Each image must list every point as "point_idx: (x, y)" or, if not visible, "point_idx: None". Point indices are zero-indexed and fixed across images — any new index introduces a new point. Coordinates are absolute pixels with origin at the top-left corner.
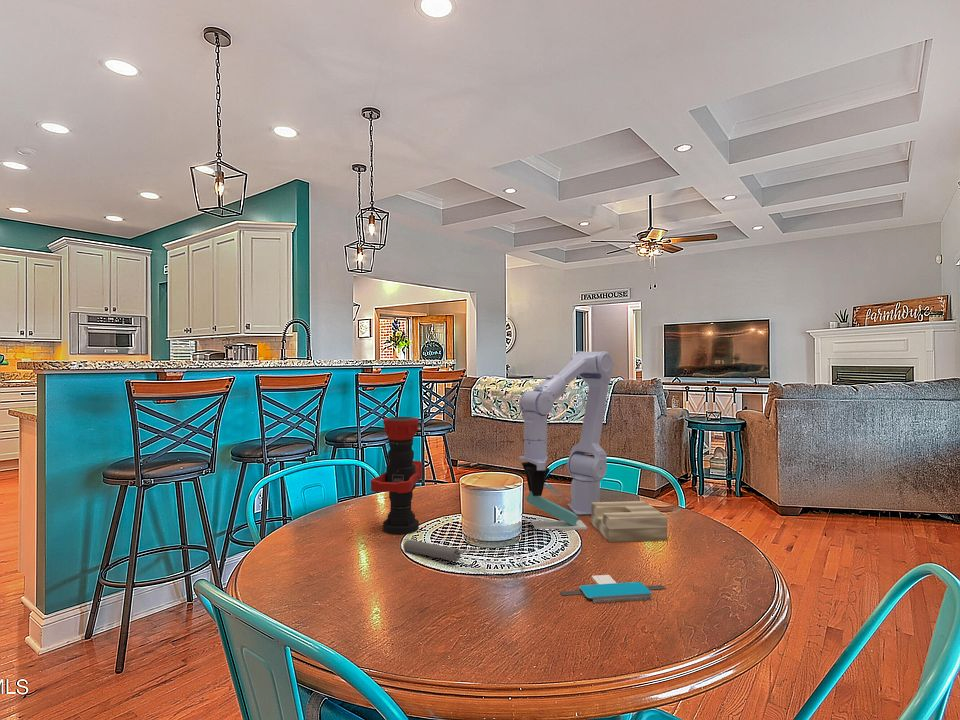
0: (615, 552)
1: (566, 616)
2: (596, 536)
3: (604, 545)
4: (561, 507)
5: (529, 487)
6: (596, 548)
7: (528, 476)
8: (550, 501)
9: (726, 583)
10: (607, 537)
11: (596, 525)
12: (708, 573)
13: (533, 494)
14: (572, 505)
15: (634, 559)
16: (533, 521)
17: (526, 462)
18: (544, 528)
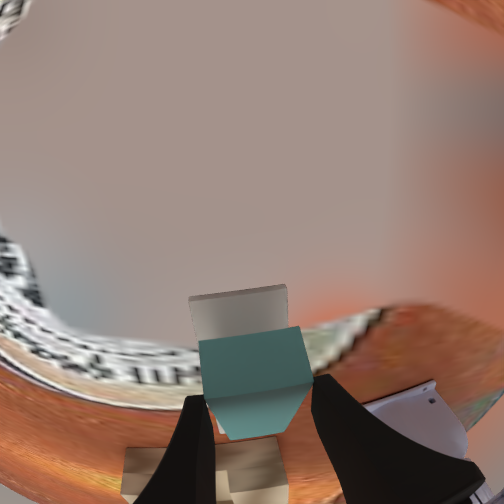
0: (66, 438)
1: None
2: (163, 437)
3: (100, 436)
4: (264, 427)
5: (320, 393)
6: (74, 419)
7: (357, 449)
8: (279, 416)
9: (22, 483)
10: (138, 453)
11: (228, 450)
12: (42, 486)
13: (184, 404)
14: (418, 394)
15: (45, 448)
16: (285, 298)
17: (467, 497)
18: (195, 332)
